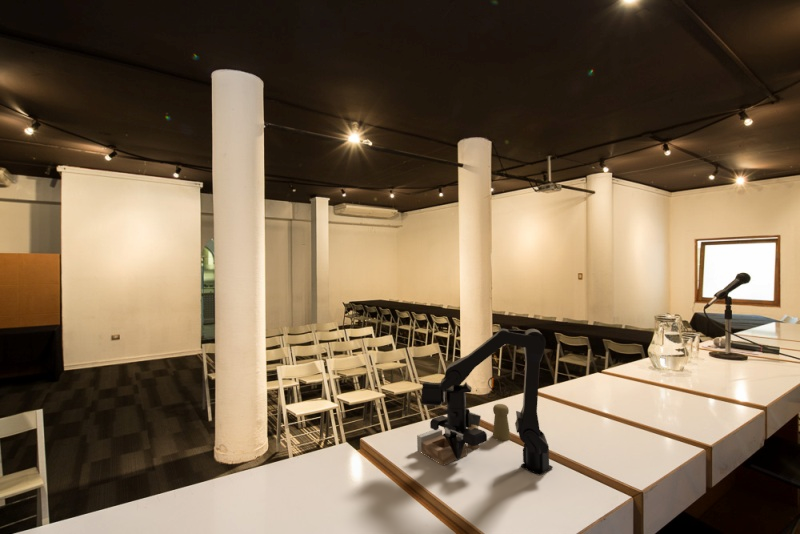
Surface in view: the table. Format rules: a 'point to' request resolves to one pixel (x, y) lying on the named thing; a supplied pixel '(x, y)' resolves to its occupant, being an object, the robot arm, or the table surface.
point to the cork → (501, 423)
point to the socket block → (440, 450)
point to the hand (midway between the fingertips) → (458, 458)
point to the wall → (427, 437)
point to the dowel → (468, 444)
